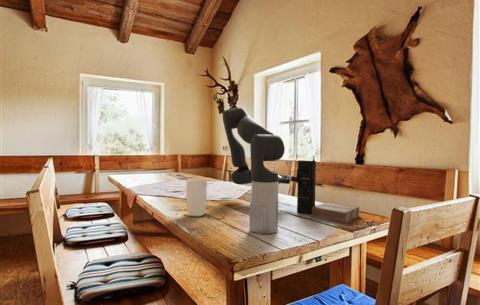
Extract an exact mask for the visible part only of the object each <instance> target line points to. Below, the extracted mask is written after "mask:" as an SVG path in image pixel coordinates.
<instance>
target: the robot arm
mask: <svg viewBox="0 0 480 305" xmlns="http://www.w3.org/2000/svg"><path fill="white" fill-rule="evenodd" d="M222 122H223V127H224V132H225V135H226V139H227V141H228V145H229V150H230V158H231V164H232V166H233V167H234V168H237V169H235V170H234V171H233V172H231V175H230V180H231V181H232V182H233V183H234V184H236V185H248V184H251V202H250V203H249V232H253V233H256V234H260V235H267V234H269V235H270V234H274V233H277V232H278V231H279V185H281V184H284V185H285V184H287V185H290V184H291V183H292V182H294V183H298V181H297V182H296V178H297V176H295V175H289V174H282V173H281V174H280V173H278V172H277V171H275V170H274V169H273V170H271V169H268V168H267V167H266V166H265V165H264V162H276V161H279V160H281V159H282V158H283V156H284V154H285V152H286V151H285V148H286V147H285V144H284V140H283V139H282V138H281V137H280V136H279V135H278V134H276V133H273V132H272V131H270V130H269V129H267V128H266V127H264V126H263V125H261V124H260V123H259V122H258V121H257V120H255V119H253V118H252V117H251V116H250V114H249V113H248V112H247V111H246V110H245V109H244V108H243V107H236V108H229V109H226V110H224V111H223V112H222ZM233 129H236V131H237V134H238V136H239V137H240V138H241V139H242V140H243V142H245V143H246V144H249V146H250V147H249V148H250V150H249V151H250V168H249V165H248V163H247V161H246V152H245V148H244V147H243V145H242V143H240V141H239V140H238V139H237V138H236V137H235V135H234V132H233Z"/></svg>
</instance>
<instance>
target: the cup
mask: <svg viewBox="0 0 480 305" xmlns="http://www.w3.org/2000/svg"><path fill="white" fill-rule="evenodd" d="M185 182H186V186H185V187H186V188H185V189H186V206H187V207H186V208H187V214H188V216H189V217H197V218H199V217H203V216H204V215H205V214H206V207H207V206H206V205H207V195H208V194H207V191H208V189H207V188H208V180H207V179H206V178H189V179H187V180H186V181H185Z"/></svg>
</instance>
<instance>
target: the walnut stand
mask: <svg viewBox="0 0 480 305" xmlns="http://www.w3.org/2000/svg"><path fill="white" fill-rule="evenodd" d="M311 217H312V218H316V219H321V220H326V221H332V222H336V223H341V224H347V223H348V222H350V221H353V220H355V219H357V218H358V217H360V206H355V205H349V204H342V203H336V202H329V201H327V202H324V203H321V204H318V205H315V206H314V207H312V214H311Z"/></svg>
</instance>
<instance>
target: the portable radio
mask: <svg viewBox="0 0 480 305" xmlns="http://www.w3.org/2000/svg"><path fill="white" fill-rule="evenodd" d="M312 158H313V159H312V160H302V159H301V160H297V169H296V177H297V178H296V182H295V183H297V196H296V198H297V200H296V201H297V202H296V203H297V204H296V213H297V214H303V215H304V214H306V215H312V207H314V206H316V172H317V171H316V168H317V162H316V159H315V155H313V157H312ZM297 181H298V182H297Z"/></svg>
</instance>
